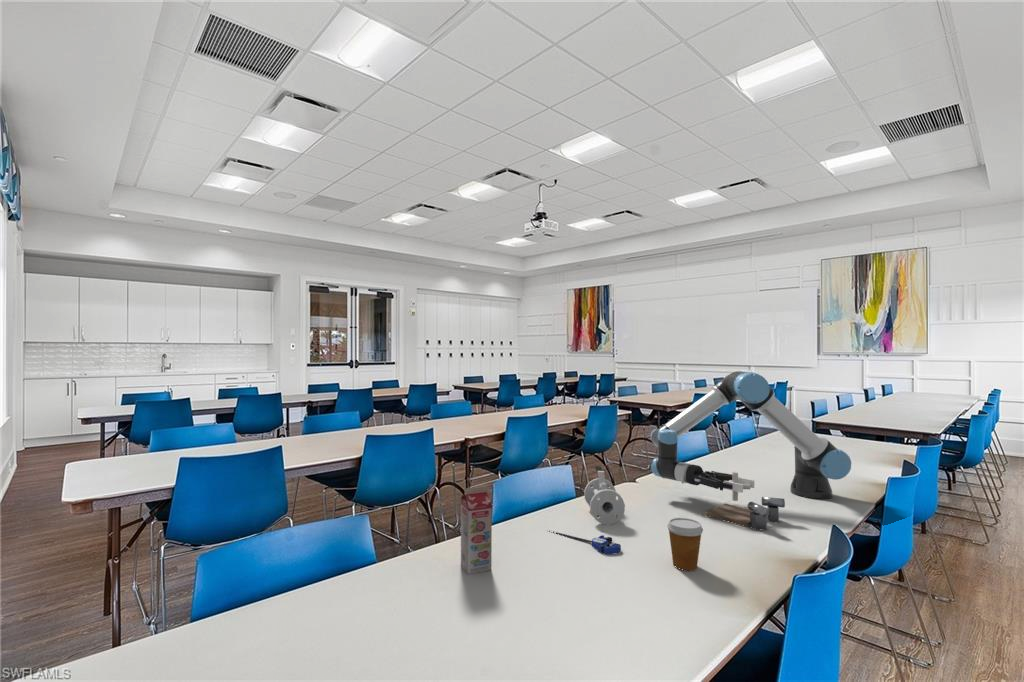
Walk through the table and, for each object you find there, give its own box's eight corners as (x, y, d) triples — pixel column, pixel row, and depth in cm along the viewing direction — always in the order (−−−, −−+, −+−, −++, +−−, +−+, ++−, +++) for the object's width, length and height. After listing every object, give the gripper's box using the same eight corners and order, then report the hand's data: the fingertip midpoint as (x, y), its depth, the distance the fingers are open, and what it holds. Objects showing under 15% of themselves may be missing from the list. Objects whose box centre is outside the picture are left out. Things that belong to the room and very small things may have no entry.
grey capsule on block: (762, 521, 175) (762, 498, 175) (761, 517, 179) (761, 495, 179) (785, 523, 173) (785, 500, 173) (783, 519, 176) (782, 497, 177)
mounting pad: (725, 507, 190) (725, 503, 190) (766, 517, 179) (766, 513, 179) (706, 515, 180) (705, 511, 180) (747, 527, 169) (747, 522, 169)
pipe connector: (744, 496, 184) (744, 469, 184) (754, 505, 174) (754, 476, 174) (716, 495, 185) (716, 468, 185) (725, 503, 175) (725, 475, 176)
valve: (625, 525, 171) (624, 481, 171) (590, 524, 171) (590, 481, 171) (612, 505, 193) (612, 466, 193) (582, 505, 193) (582, 466, 193)
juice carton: (460, 564, 139) (461, 485, 139) (483, 560, 141) (483, 483, 142) (468, 574, 133) (468, 491, 133) (491, 570, 135) (491, 489, 136)
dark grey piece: (746, 525, 171) (746, 501, 171) (756, 524, 172) (756, 501, 172) (760, 532, 164) (759, 508, 164) (770, 531, 165) (770, 507, 165)
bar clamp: (629, 539, 152) (613, 549, 145) (629, 547, 152) (613, 557, 145) (544, 519, 173) (526, 527, 166) (544, 526, 173) (527, 534, 165)
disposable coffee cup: (685, 576, 132) (685, 531, 132) (659, 562, 140) (659, 520, 140) (710, 569, 136) (710, 525, 136) (684, 556, 145) (684, 515, 145)
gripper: (703, 479, 200) (761, 491, 183) (674, 488, 187) (734, 502, 169) (703, 460, 201) (761, 471, 183) (674, 468, 187) (734, 480, 169)
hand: (748, 486), depth 176 cm, fingers closed on pipe connector, 8 cm apart
